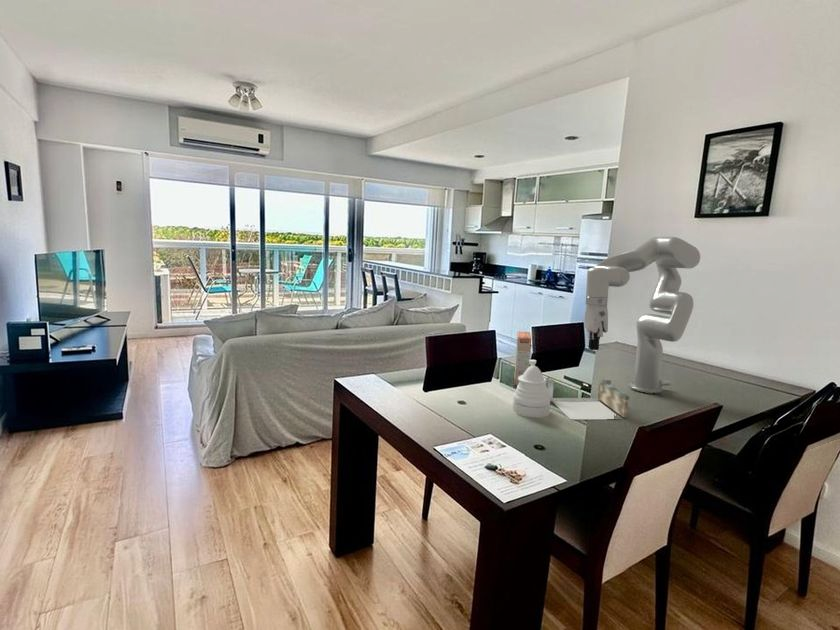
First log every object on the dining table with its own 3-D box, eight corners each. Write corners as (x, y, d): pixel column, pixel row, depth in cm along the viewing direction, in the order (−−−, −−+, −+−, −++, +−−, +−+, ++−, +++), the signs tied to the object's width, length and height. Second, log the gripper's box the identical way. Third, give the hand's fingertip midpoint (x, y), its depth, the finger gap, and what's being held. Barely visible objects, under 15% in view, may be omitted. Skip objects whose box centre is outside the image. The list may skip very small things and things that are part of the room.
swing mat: (599, 402, 173) (599, 401, 173) (621, 419, 156) (621, 419, 156) (553, 402, 172) (553, 401, 172) (570, 420, 155) (570, 419, 155)
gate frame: (607, 399, 177) (609, 378, 175) (610, 402, 174) (612, 380, 172) (543, 399, 175) (544, 377, 174) (546, 402, 172) (547, 380, 171)
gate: (597, 398, 176) (598, 379, 174) (601, 398, 176) (602, 379, 175) (622, 417, 157) (624, 396, 155) (627, 417, 157) (629, 396, 155)
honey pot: (510, 403, 170) (512, 356, 167) (544, 404, 170) (547, 357, 167) (516, 416, 157) (518, 366, 154) (553, 417, 157) (557, 367, 154)
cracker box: (528, 387, 190) (531, 338, 187) (514, 385, 191) (516, 337, 188) (527, 377, 203) (530, 331, 200) (514, 376, 205) (516, 330, 201)
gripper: (616, 304, 161) (613, 354, 164) (597, 298, 175) (594, 344, 179) (596, 304, 160) (592, 354, 163) (578, 298, 175) (575, 344, 178)
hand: (593, 349), depth 171 cm, fingers closed
